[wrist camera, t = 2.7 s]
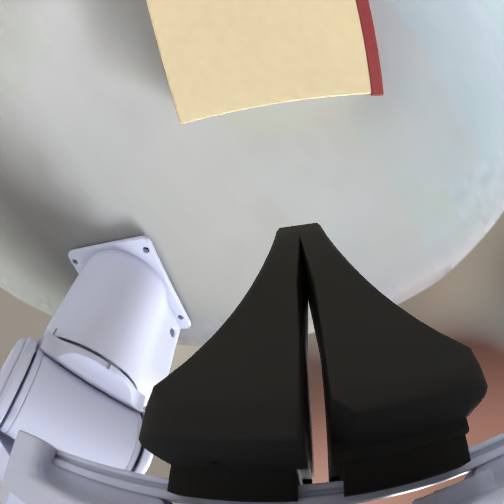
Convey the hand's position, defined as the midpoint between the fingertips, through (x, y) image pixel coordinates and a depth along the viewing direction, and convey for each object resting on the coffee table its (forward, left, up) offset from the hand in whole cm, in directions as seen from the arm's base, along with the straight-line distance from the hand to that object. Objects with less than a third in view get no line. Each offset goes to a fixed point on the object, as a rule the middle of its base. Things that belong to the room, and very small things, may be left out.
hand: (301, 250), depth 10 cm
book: (+10, 0, -8) cm, 13 cm away
